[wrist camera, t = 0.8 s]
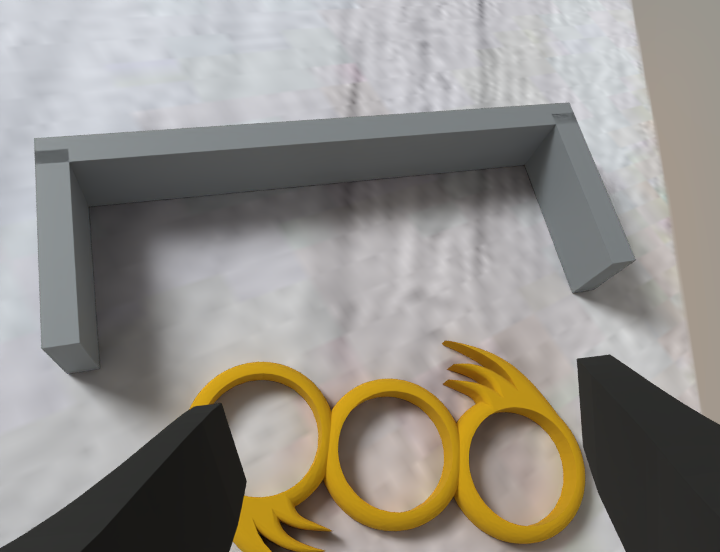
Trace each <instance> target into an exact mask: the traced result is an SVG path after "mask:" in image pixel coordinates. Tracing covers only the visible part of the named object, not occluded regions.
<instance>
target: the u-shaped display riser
mask: <svg viewBox="0 0 720 552" xmlns="http://www.w3.org/2000/svg"><path fill="white" fill-rule="evenodd" d="M34 149H35V177H36V206H37V235H38V263H39V292H40V321H41V348H42V349H43V350H44V351H45V352H46V353H47V354H48V355H49V356H50V357H51V358H52V359H53V360H54V361H55V362H56V363H57V364H58V365H59V366H60V367H61V368H62V369H63V370H64V371H65V372H66V373H67V374H70V373H76V372H83V371H89V370H95V369H100V362H99V348H98V333H97V319H96V305H95V290H94V276H93V262H92V248H91V233H90V219H89V207H90V206H101V205H111V204H122V203H132V202H143V201H153V200H164V199H174V198H185V197H195V196H206V195H216V194H227V193H237V192H248V191H258V190H269V189H279V188H289V187H300V186H310V185H321V184H331V183H342V182H352V181H363V180H373V179H384V178H394V177H405V176H415V175H426V174H436V173H447V172H457V171H468V170H478V169H489V168H499V167H510V166H520V165H525V168H526V171H527V173H528V176H529V179H530V181H531V184H532V187H533V189H534V192H535V195H536V197H537V200H538V203H539V205H540V208H541V211H542V213H543V216H544V219H545V221H546V224H547V227H548V229H549V232H550V235H551V237H552V240H553V243H554V245H555V248H556V251H557V253H558V256H559V259H560V262H561V264H562V267H563V270H564V272H565V275H566V278H567V280H568V283H569V286H570V288H571V291H572V293H576V292H582V291H588V290H594V289H595V288H597V287H598V286H599V285H601V284H602V283H604V282H605V281H607V280H608V279H609V278H611V277H612V276H614V275H615V274H617V273H618V272H619V271H621V270H622V269H624V268H625V267H627V266H628V265H629V264H631V263H632V262H634V261H635V260H636V259H635V257H634V255H633V252H632V250H631V248H630V245H629V243H628V240H627V238H626V236H625V233H624V231H623V229H622V226H621V224H620V222H619V219H618V217H617V214H616V212H615V210H614V207H613V205H612V203H611V200H610V198H609V196H608V193H607V191H606V188H605V186H604V184H603V181H602V179H601V177H600V174H599V172H598V170H597V167H596V165H595V162H594V160H593V158H592V155H591V153H590V151H589V148H588V146H587V144H586V141H585V139H584V136H583V134H582V132H581V129H580V127H579V125H578V122H577V120H576V118H575V115H574V113H573V110H572V108H571V106H570V103H555V104H540V105H525V106H510V107H495V108H481V109H466V110H451V111H436V112H421V113H406V114H391V115H376V116H361V117H346V118H331V119H316V120H301V121H286V122H271V123H256V124H241V125H226V126H211V127H196V128H181V129H167V130H152V131H137V132H122V133H107V134H92V135H77V136H62V137H47V138H34Z"/></svg>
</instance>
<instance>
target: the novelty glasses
mask: <svg viewBox="0 0 720 552" xmlns="http://www.w3.org/2000/svg"><path fill="white" fill-rule="evenodd" d="M442 344H443V345H444V346H446V347H449V348H451V349H453V350H455V351H457V352H459V353H461V354H463V355H465V356H467V357H469V358H471V359H472V360H474V361H476V362H478V363H479V364H481V365H482V366H483V367H482V366H478V365H474V364H453V365H452V366H451V367H449V368H448V369H447V370H451V371H454V372H457V373H460V374H462V375H465V376H467V377H469V378H471V379H473V380H475V381H476V382H478V383H479V384H478V383H474V382H468V381H459V380H447V381H446V382H445V383H443V385H445V386H448V387H450V388H452V389H454V390H457V391H459V392H461V393H463V394H465V395H467V396H469V397H470V398H472V399H473V400H474V402H475V403H476V405H474V406H472V407H471V408H470V409H468V410H467V411H466V412H465V413H464V414H463V415H462V416H461V417H460V419H459V420H458V421H457V423H456V422H455V421H454V419H453V417H452V415H451V414H450V412H449V411H448V409H447V408H446V407H445V406H444V404H443V403H442V402H441V401H440V400H439V399H438V398H437V397H436V396H434V395H433V394H432V393H430V392H429V391H427V390H426V389H424V388H422V387H421V386H419V385H416V384H414V383H411V382H408V381H404V380H398V379H378V380H374V381H370V382H367V383H364V384H361V385H359V386H357V387H355V388H354V389H352V390H351V391H349V392H348V393H347V394H345V395H344V396H343V397H342V398H341V399H340V400H339V401H338V403H337V404H336V405H335V406H334V408H333V409H332V410H331V409H330V407H329V405H328V403H327V400H326V399H325V397H324V396H323V394H322V393H321V391H320V390H319V389H318V388H317V386H316V385H315V384H314V383H313V382H312V381H311V380H309V379H308V378H307V377H306V376H304V375H303V374H301V373H300V372H298V371H296V370H294V369H292V368H290V367H288V366H284V365H281V364H277V363H271V362H253V363H246V364H242V365H239V366H236V367H233V368H231V369H228V370H226V371H224V372H223V373H221V374H219V375H218V376H216V377H215V378H214V379H213V380H211V381H210V382H209V383H208V384H207V385H206V386H205V387H204V388H203V389H202V390H201V391H200V393H199V394H198V395H197V397H196V398H195V400H194V401H193V403H192V405H191V407H190V409H191V408H192V407H194V406H201V405H209V404H214V403H215V401H216V400H217V399H218V398H219V397H220V396H221V395H222V394H223V393H225V392H226V391H228V390H230V389H231V388H233V387H234V386H236V385H239V384H242V383H245V382H248V381H255V380H269V381H275V382H278V383H282V384H284V385H286V386H288V387H290V388H292V389H294V390H295V391H296V392H297V393H298V394H299V395H300V396H302V397H303V398H304V399H305V400H306V402H307V403H308V405H309V406H310V408H311V410H312V411H313V414H314V417H315V419H316V422H317V427H318V449H317V452H316V456H315V459H314V462H313V464H312V465H311V467H310V469H309V471H308V473H307V474H306V475H305V476H304V477H303V479H302V480H301V481H300V482H299V483H297V484H296V485H295V486H294V487H292V488H290V489H288V490H287V491H285V492H282V493H280V494H277V495H273V496H269V497H248V496H244V498H243V504H242V509H241V513H240V518H239V522H238V527H237V530H236V533H235V536H234V539H233V542H234V543H235V544H236V545H237V547H238V548H239V549H240V550H241V551H243V552H272V551H271V550H270V549H269V548H268V547H267V546H266V545H265V544H264V542H263V541H262V539H261V538H260V536H259V534H258V533H260V534H261V535H262V536H264V537H265V538H267V539H268V540H269V541H271V542H273V543H275V544H277V545H278V546H281V547H283V548H285V549H288V550H291V551H296V552H323V551H324V550H321V549H317V548H314V547H311V546H309V545H306V544H303V543H301V542H299V541H297V540H295V539H293V538H292V537H290V536H289V535H288V534H287V533H286V532H285V531H284V530H283V528H282V527H281V525H280V522H282V523H284V524H287V525H289V526H291V527H294V528H298V529H303V530H315V531H332V530H330V529H327V528H325V527H323V526H321V525H318V524H316V523H314V522H312V521H309V520H307V519H305V518H303V517H302V516H300V515H299V514H298V513H297V511H296V509H295V506H297V505H299V504H300V503H301V502H303V501H304V500H305V499H307V498H308V497H309V496H310V495H311V494H312V493H313V492H314V491H315V490H316V489H317V487H318V486H319V485H320V483H321V482H322V481H323V480H324V483H325V485H326V488H327V490H328V491H329V493H330V495H331V496H332V498H333V499H334V501H335V502H336V503H337V505H338V506H339V507H340V508H341V509H342V510H343V511H344V512H345V513H346V514H348V515H349V516H350V517H351V518H353V519H354V520H356V521H357V522H359V523H361V524H363V525H366V526H368V527H371V528H374V529H378V530H384V531H401V530H408V529H413V528H416V527H419V526H421V525H423V524H425V523H427V522H429V521H430V520H432V519H434V518H435V517H436V516H437V515H439V514H440V513H441V512H442V511H443V510H444V509H445V508H446V506H447V505H448V504H449V502H450V501H451V499H452V498H453V496H454V498H455V500H456V502H457V504H458V506H459V507H460V509H461V510H462V511H463V513H464V514H465V515H466V517H467V518H468V519H469V520H470V521H471V522H472V523H473V524H474V525H475V526H476V527H478V528H479V529H480V530H482V531H483V532H485V533H486V534H488V535H490V536H492V537H494V538H496V539H499V540H502V541H505V542H509V543H517V544H530V543H536V542H541V541H544V540H547V539H549V538H551V537H553V536H555V535H557V534H558V533H559V532H561V531H562V530H563V529H564V528H565V527H566V526H567V525H568V524H569V523H570V522H571V521H572V519H573V518H574V516H575V515H576V513H577V511H578V509H579V507H580V504H581V501H582V498H583V494H584V488H585V467H584V462H583V458H582V454H581V450H580V448H579V445H578V443H577V441H576V439H575V437H574V435H573V434H572V432H571V430H570V429H569V428H568V426H567V425H566V424H565V422H564V421H563V420H562V419H561V418H560V417H559V416H558V414H557V413H556V412H555V410H554V409H553V408H552V406H551V405H550V404H549V402H548V401H547V400H546V399H545V397H544V396H543V395H542V394H541V393H540V392H539V390H538V389H537V388H536V387H535V386H534V385H533V384H532V383H531V382H530V381H529V380H528V379H527V378H526V377H525V376H524V375H523V374H522V373H521V372H520V371H519V370H518V369H516V368H515V367H514V366H513V365H511V364H510V363H508V362H507V361H505V360H504V359H502V358H500V357H498V356H496V355H494V354H492V353H490V352H487V351H485V350H482V349H479V348H476V347H473V346H469V345H466V344H462V343H457V342H452V341H444V342H443V343H442ZM377 397H396V398H400V399H404V400H406V401H408V402H410V403H412V404H414V405H416V406H418V407H419V408H420V409H421V410H423V411H424V412H425V413H426V414H427V415H428V416H429V418H430V419H431V420H432V421H433V423H434V424H435V426H436V428H437V430H438V432H439V434H440V437H441V439H442V444H443V449H444V466H443V471H442V476H441V478H440V481H439V483H438V485H437V487H436V489H435V490H434V492H433V493H432V494H431V495H430V497H429V498H428V499H427V500H426V501H425V502H424V503H422V504H420V505H419V506H417V507H416V508H414V509H412V510H409V511H406V512H401V513H398V512H388V511H384V510H380V509H378V508H375V507H373V506H371V505H369V504H368V503H366V502H365V501H363V500H362V499H361V498H360V497H359V496H358V495H357V494H356V493H355V492H354V491H353V490H352V488H351V487H350V486H349V484H348V483H347V481H346V479H345V477H344V475H343V472H342V470H341V467H340V462H339V456H338V441H339V435H340V431H341V428H342V425H343V423H344V421H345V419H346V417H347V416H348V414H349V413H350V412H351V410H353V409H354V408H355V407H357V406H358V405H359V404H361V403H363V402H365V401H367V400H370V399H373V398H377ZM500 412H511V413H516V414H520V415H523V416H525V417H528V418H529V419H531V420H533V421H534V422H536V423H537V424H539V425H540V426H541V427H542V428H543V429H544V430H545V431H546V432H547V433H548V434H549V436H550V437H551V439H552V440H553V442H554V443H555V445H556V447H557V449H558V451H559V454H560V457H561V460H562V466H563V488H562V492H561V496H560V498H559V500H558V502H557V504H556V506H555V508H554V509H553V510H552V511H551V513H550V514H549V515H548V516H547V517H546V518H544V519H543V520H541V521H539V522H538V523H536V524H533V525H529V526H521V525H516V524H513V523H510V522H508V521H506V520H504V519H502V518H501V517H499V516H498V515H497V514H495V513H494V512H493V511H492V510H491V509H490V508H489V507H488V506H487V505H486V504H485V503H484V501H483V500H482V499H481V497H480V496H479V494H478V492H477V490H476V489H475V486H474V483H473V481H472V478H471V474H470V469H469V449H470V444H471V440H472V437H473V435H474V433H475V431H476V429H477V428H478V426H479V425H480V424H481V422H482V421H483V420H484V419H485V418H487V417H488V416H489V415H491V414H494V413H500Z"/></svg>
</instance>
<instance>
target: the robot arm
mask: <svg viewBox="0 0 720 552" xmlns="http://www.w3.org/2000/svg"><path fill="white" fill-rule="evenodd" d="M577 368H578V382H579V396H580V410H581V424H582V438H583V448H584V451H585V454H586V457H587V460H588V463H589V466H590V470H591V473H592V476H593V479H594V482H595V485H596V487H597V490H598V493H599V495H600V498H601V500H602V502H603V504H604V506H605V508H606V511H607V513H608V515H609V517H610V519H611V521H612V523H613V525H614V528H615V530H616V532H617V534H618V536H619V538H620V540H621V542H622V544H623V546H624V549H625V551H626V552H720V425H719V424H717V423H716V422H714V421H712V420H710V419H708V418H707V417H705V416H703V415H702V414H700V413H698V412H697V411H695V410H693V409H692V408H690V407H688V406H687V405H685V404H683V403H682V402H680V401H679V400H677V399H675V398H674V397H672V396H671V395H669V394H668V393H666V392H665V391H663V390H662V389H660V388H659V387H657V386H655V385H654V384H653V383H651V382H650V381H648V380H647V379H645V378H644V377H642V376H641V375H639V374H638V373H636V372H635V371H633V370H632V369H631V368H629V367H628V366H626V365H625V364H623V363H622V362H620V361H619V360H617V359H616V358H614V357H613V356H611V355H603V356H595V357H587V358H579V359H577ZM246 482H247V481H246V478H245V475H244V472H243V468H242V465H241V462H240V459H239V456H238V453H237V450H236V447H235V444H234V441H233V437H232V434H231V431H230V428H229V425H228V422H227V419H226V416H225V413H224V409H223V406H222V403H217V404H209V405H201V406H194V407H192V408H191V409H189V410H188V411H186V412H185V413H184V414H182V415H181V416H180V417H178V418H177V419H176V420H175V421H173V422H172V423H171V424H170V425H168V426H167V427H166V428H165V429H164V430H162V431H161V432H160V433H159V434H157V435H156V436H155V437H154V438H153V439H151V440H150V441H149V442H148V443H147V444H145V445H144V446H143V447H142V448H141V449H139V450H138V451H137V452H136V453H134V454H133V455H132V456H131V457H130V458H128V459H127V460H126V461H125V462H124V463H122V464H121V465H120V466H119V467H117V468H116V469H115V470H113V471H112V472H111V473H110V474H108V475H107V476H106V477H104V478H103V479H102V480H100V481H99V482H98V483H97V484H95V485H94V486H93V487H91V488H90V489H89V490H87V491H86V492H85V493H83V494H82V495H81V496H80V497H78V498H77V499H76V500H74V501H73V502H71V503H70V504H69V505H67V506H66V507H64V508H63V509H61V510H60V511H59V512H57V513H56V514H54V515H53V516H51V517H50V518H48V519H47V520H45V521H44V522H42V523H41V524H39V525H37V526H36V527H34V528H33V529H31V530H30V531H28V532H27V533H25V534H24V535H22V536H20V537H19V538H17V539H15V540H14V541H12V542H10V543H8V544H7V545H5V546H3V547H2V548H0V552H229V551H230V548H231V545H232V542H233V539H234V536H235V533H236V530H237V527H238V522H239V518H240V513H241V509H242V504H243V498H244V493H245V488H246Z"/></svg>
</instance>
